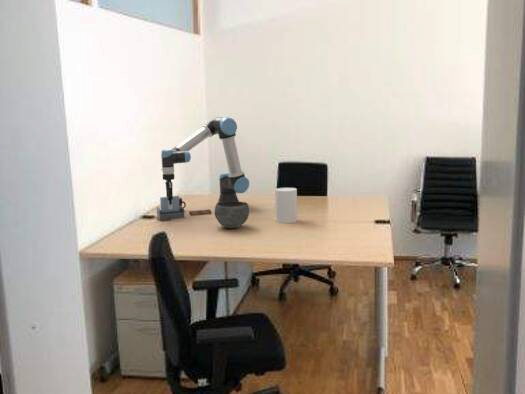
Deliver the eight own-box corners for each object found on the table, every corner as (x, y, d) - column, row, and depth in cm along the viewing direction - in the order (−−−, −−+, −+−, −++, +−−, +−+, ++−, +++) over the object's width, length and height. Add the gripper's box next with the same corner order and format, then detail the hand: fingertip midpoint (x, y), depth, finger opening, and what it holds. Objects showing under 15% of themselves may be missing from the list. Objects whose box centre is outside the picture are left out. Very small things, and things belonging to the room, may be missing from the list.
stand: (209, 213, 394) (209, 209, 394) (211, 215, 388) (211, 211, 387) (189, 215, 390) (188, 210, 390) (191, 217, 384) (191, 212, 383)
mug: (183, 210, 406) (182, 196, 404) (187, 212, 399) (187, 198, 398) (169, 212, 401) (168, 198, 399) (173, 214, 394) (173, 199, 392)
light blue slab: (179, 213, 385) (178, 195, 383) (179, 214, 383) (178, 196, 381) (161, 215, 382) (160, 197, 379) (161, 215, 380) (160, 197, 378)
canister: (283, 217, 376) (282, 187, 373) (301, 219, 369) (300, 188, 365) (271, 221, 366) (270, 190, 362) (289, 223, 358) (289, 191, 354)
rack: (180, 215, 391) (180, 204, 390) (184, 218, 379) (184, 208, 378) (157, 217, 387) (156, 206, 385) (159, 221, 374) (159, 210, 373)
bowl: (242, 232, 339) (241, 207, 336) (209, 230, 346) (208, 205, 344) (254, 224, 358) (254, 200, 356) (223, 222, 366) (222, 199, 363)
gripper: (160, 172, 383) (162, 207, 388) (164, 175, 370) (166, 211, 374) (172, 171, 386) (174, 206, 390) (176, 174, 372) (177, 210, 376)
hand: (170, 208), depth 382 cm, fingers closed on light blue slab, 2 cm apart
